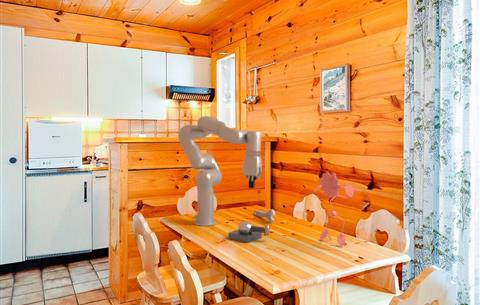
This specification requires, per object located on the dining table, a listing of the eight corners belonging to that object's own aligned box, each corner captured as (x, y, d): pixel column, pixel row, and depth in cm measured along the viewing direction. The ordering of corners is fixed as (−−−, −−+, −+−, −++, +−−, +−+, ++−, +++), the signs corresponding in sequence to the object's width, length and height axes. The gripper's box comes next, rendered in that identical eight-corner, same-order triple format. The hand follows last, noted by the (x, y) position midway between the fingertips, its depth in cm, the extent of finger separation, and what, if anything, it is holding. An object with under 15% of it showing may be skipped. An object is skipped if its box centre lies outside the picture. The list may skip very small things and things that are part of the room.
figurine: (319, 235, 187) (320, 168, 185) (360, 249, 166) (361, 173, 164) (297, 240, 179) (297, 170, 177) (337, 255, 158) (338, 176, 155)
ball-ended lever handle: (236, 232, 180) (236, 223, 179) (241, 229, 186) (241, 220, 186) (266, 236, 173) (267, 227, 173) (271, 233, 179) (271, 224, 179)
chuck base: (228, 238, 181) (228, 232, 180) (243, 233, 190) (243, 228, 190) (247, 243, 173) (247, 236, 173) (261, 237, 183) (261, 231, 183)
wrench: (256, 218, 238) (275, 223, 210) (254, 218, 237) (273, 224, 209) (256, 206, 239) (275, 210, 210) (253, 206, 238) (272, 210, 210)
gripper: (237, 153, 195) (236, 186, 196) (260, 155, 185) (258, 190, 186) (246, 152, 201) (245, 185, 202) (268, 155, 191) (266, 189, 192)
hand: (251, 187), depth 194 cm, fingers closed
